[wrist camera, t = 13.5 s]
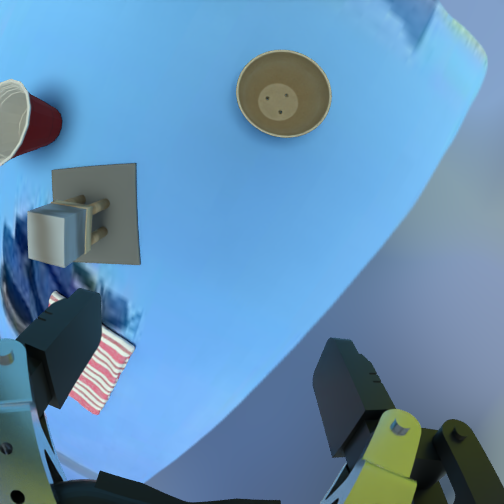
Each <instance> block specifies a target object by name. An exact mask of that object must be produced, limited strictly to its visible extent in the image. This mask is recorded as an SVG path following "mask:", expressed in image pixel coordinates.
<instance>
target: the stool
mask: <svg viewBox="0 0 504 504" xmlns="http://www.w3.org/2000/svg"><path fill="white" fill-rule="evenodd" d="M85 202H86V198H85V196H84V195H79V196H76V197H73V198H70V199H67V200H64V201H60V200H56V201H53V202H51V203H50V204H47V205H44V206H41V207H39V208H36V209H33V210H30V211H28V253H29V258H30V259H34V260H37V261H41V262H45V263H48V264H52V265H56V266H59V267H63V268H65V267H66V266H68V265H69V264H70V263H72V262H73V261H74V260H76V259H77V258H79V257H80V256H81V255H83V254H86V253H87V252H89V251H90V250H91V245H93V244H94V243H96V242H97V241H99V240H100V239H102V238H103V237H105V236H106V235H107V233H108V230H107V228H106V227H101V228H99V229H97V230H95V231H94V232H92V233H91V231H92V215H94V214H96V213H98V212H100V211H102V210H105V209H107V208H108V207H109V206H110V202H109V200H108V199H102V200H99V201H97V202H94V203H92V204H89V205H85V204H84V203H85Z"/></svg>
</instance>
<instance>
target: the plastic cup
mask: <svg viewBox="0 0 504 504" xmlns="http://www.w3.org/2000/svg"><path fill="white" fill-rule="evenodd" d="M61 128H62V118H61V114H60V113H59V112H58V110H57V109H56V108H54V107H52V106H50V105H48V104H47V103H46V102H44V101H42V100H40V99H38V98H37V97H35V96H33V95H31V94H30V93H29V92H28V91H27V90H26V88H25V87H24V85H23V84H22V83H21V82H19V81H16V80H13V79H10V80H7V81H4V82H1V83H0V166H1V165H3V164H4V163H6V162H7V161H8V160H10V159H12V158H15V157H16V156H19V155H21V154H24V153H27V152H30V151H33V150H36V149H38V148H40V147H43V146H47V145H48V144H50V143H52V142H53V141H55V139H56V138H57V137H58V135H59V133H60V130H61Z"/></svg>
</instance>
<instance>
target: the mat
mask: <svg viewBox="0 0 504 504" xmlns="http://www.w3.org/2000/svg"><path fill="white" fill-rule="evenodd" d="M52 191H53V201H56V200H60V201H64V200H67V199H70V198H73V197H76V196H79V195H84V196H85V198H86V202H85V203H84V204H85V205H89V204H92V203H94V202H97V201H99V200H102V199H108V200H109V202H110V206H109V207H108V208H107V209H105V210H102V211H100V212H98V213H96V214H94V215H92V231H91V233H92V232H94V231H95V230H97V229H99V228H101V227H106V228H107V230H108V233H107V235H106V236H105V237H103V238H102V239H100V240H99V241H97V242H96V243H94V244H93V245H91V250H90V251H89V252H87V253H86V254H83V255H81V256H80V257H79V258H77V259H76V260H74V261H73V262H85V263H106V264H128V265H140V264H141V262H140V249H139V235H138V216H137V185H136V163H131V164H114V165H100V166H88V167H77V168H67V169H58V170H52Z"/></svg>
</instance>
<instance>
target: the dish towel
mask: <svg viewBox="0 0 504 504" xmlns="http://www.w3.org/2000/svg"><path fill="white" fill-rule="evenodd" d="M63 298H65V297H64V296H62V295H61V294H59V293H58V292H57V291H54V292H53V293H52V294H51V297H50V299H49V306H50V305H51V304H52V303H54V302H56V301H58V300H61V299H63ZM49 306H48V307H49ZM134 350H135V346H133V345H132V344H131V343H129V342H128V341H126V340H125V339H123V338H122V337H120V336H119V335H117V334H116V333H114V332H112V331H111V330H110V329H108V328H107V327H105V326H104V325H103V324H102V337H101V341H100V344H99V346H98V348H97V350H96V351H95V353H94V354H93V356H92V358H91V359H90V361H89V362H88V364H87V366H86V367H85V369H84V370H83V372H82V374H81V375H80V377H79V378H78V380H77V382H76V383H75V385H74V387H73V388H72V390H71V392H70V393H69V396H70V397H72V398H74V399H75V400H76V401H78V402H79V403H80V404H81V405H82V406H83V407H84V408H86V409H87V410H88V411H90V412H91V413H93V414H96V415H98V414H99V413H100V410H102V408H103V407H104V405H105V403H106V402H107V401H108V399H109V397H110V393H111V392H112V390H113V389H114V386H115V385H116V383H117V381H118V379H119V376H120V374H121V372H122V371H123V370H124V368H125V366H126V364H127V362H128V360H129V358H130V355H131V354H132V353H133V351H134Z"/></svg>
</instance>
